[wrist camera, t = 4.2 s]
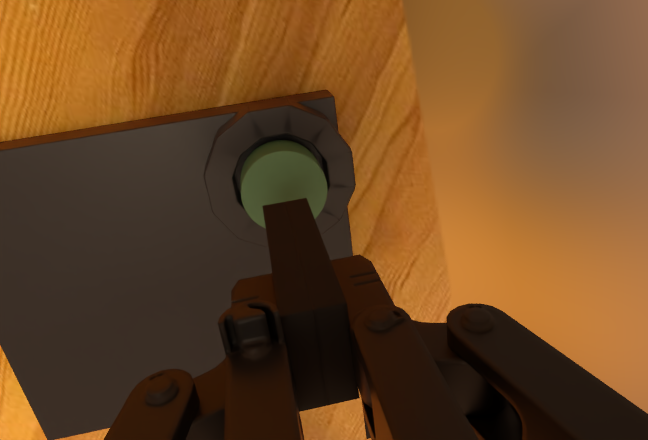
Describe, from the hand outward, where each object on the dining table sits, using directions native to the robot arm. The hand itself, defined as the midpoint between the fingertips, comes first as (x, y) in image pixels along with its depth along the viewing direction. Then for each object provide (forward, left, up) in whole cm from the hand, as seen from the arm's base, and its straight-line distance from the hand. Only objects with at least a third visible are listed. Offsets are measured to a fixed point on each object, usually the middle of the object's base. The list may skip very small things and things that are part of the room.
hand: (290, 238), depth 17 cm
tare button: (0, 0, -6) cm, 6 cm away
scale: (+6, +5, -9) cm, 12 cm away
